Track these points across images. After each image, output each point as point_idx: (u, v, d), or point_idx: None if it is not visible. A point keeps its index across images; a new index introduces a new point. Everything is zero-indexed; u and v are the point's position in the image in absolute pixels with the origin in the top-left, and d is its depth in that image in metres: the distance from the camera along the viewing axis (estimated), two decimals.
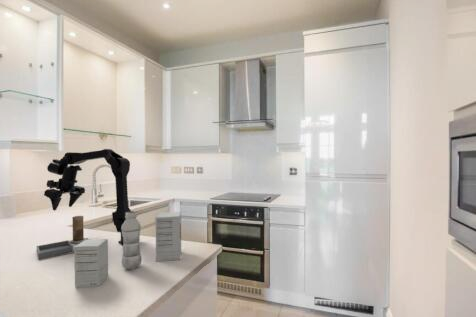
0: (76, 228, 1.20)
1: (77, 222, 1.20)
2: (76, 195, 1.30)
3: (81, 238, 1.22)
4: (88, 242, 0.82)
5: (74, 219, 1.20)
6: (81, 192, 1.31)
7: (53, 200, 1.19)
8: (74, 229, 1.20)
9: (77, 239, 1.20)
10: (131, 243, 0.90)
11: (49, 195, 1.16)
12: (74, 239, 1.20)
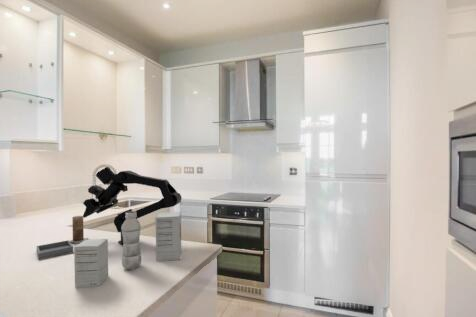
0: (76, 228, 1.20)
1: (77, 222, 1.20)
2: (108, 206, 1.26)
3: (81, 238, 1.22)
4: (88, 242, 0.82)
5: (74, 219, 1.20)
6: (114, 205, 1.28)
7: (88, 209, 1.16)
8: (74, 229, 1.20)
9: (77, 239, 1.20)
10: (131, 243, 0.90)
11: (88, 207, 1.12)
12: (74, 239, 1.20)
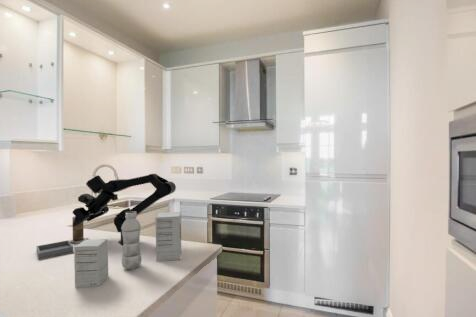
0: (76, 228, 1.20)
1: None
2: (98, 214, 1.27)
3: (81, 238, 1.22)
4: (88, 242, 0.82)
5: (74, 219, 1.20)
6: (104, 213, 1.28)
7: (77, 218, 1.16)
8: (74, 229, 1.20)
9: (77, 239, 1.20)
10: (131, 243, 0.90)
11: (77, 216, 1.12)
12: (74, 239, 1.20)
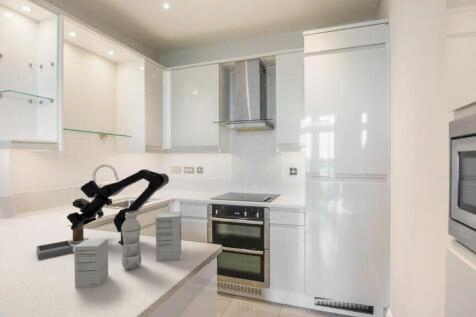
0: (76, 228, 1.20)
1: None
2: (90, 220, 1.25)
3: (81, 238, 1.22)
4: (88, 242, 0.82)
5: None
6: (99, 217, 1.28)
7: None
8: (74, 229, 1.20)
9: (77, 239, 1.20)
10: (131, 243, 0.90)
11: (71, 221, 1.13)
12: (74, 239, 1.20)
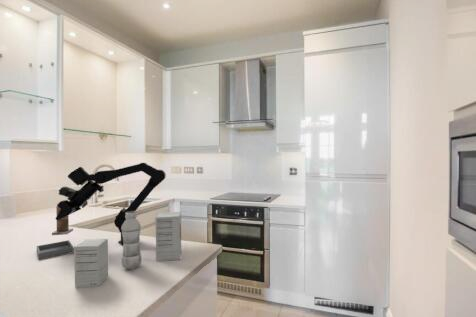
0: (62, 218, 1.13)
1: None
2: (76, 209, 1.18)
3: (67, 228, 1.14)
4: (88, 242, 0.82)
5: (59, 209, 1.12)
6: (84, 206, 1.22)
7: (63, 211, 1.11)
8: (59, 219, 1.12)
9: (63, 230, 1.13)
10: (131, 243, 0.90)
11: (64, 209, 1.06)
12: (59, 230, 1.12)
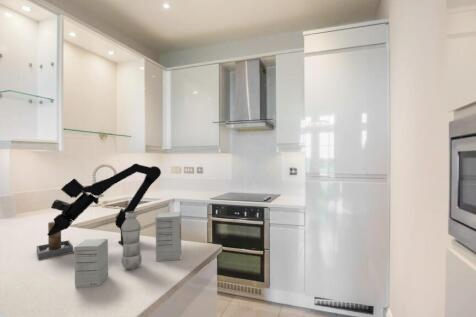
0: (55, 235, 1.08)
1: None
2: None
3: (60, 245, 1.09)
4: (88, 242, 0.82)
5: (52, 225, 1.07)
6: (75, 219, 1.18)
7: (56, 226, 1.06)
8: (53, 236, 1.07)
9: (56, 247, 1.08)
10: (131, 243, 0.90)
11: (61, 223, 1.02)
12: (52, 247, 1.07)
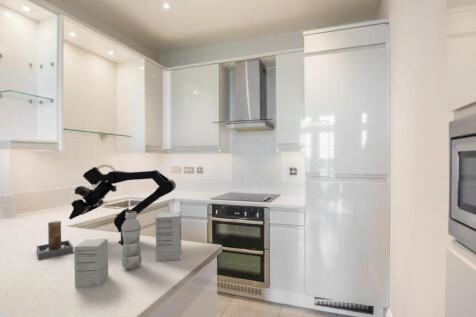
0: (55, 235, 1.08)
1: (56, 228, 1.08)
2: (93, 207, 1.24)
3: (60, 245, 1.09)
4: (88, 242, 0.82)
5: (52, 225, 1.07)
6: (99, 205, 1.26)
7: (75, 210, 1.13)
8: (53, 236, 1.07)
9: (56, 247, 1.08)
10: (131, 243, 0.90)
11: (77, 208, 1.10)
12: (52, 247, 1.07)
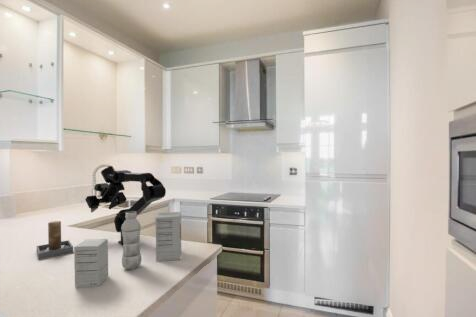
0: (55, 235, 1.08)
1: (56, 228, 1.08)
2: (116, 203, 1.33)
3: (60, 245, 1.09)
4: (88, 242, 0.82)
5: (52, 225, 1.07)
6: (121, 202, 1.33)
7: None
8: (53, 236, 1.07)
9: (56, 247, 1.08)
10: (131, 243, 0.90)
11: (88, 203, 1.21)
12: (52, 247, 1.07)
